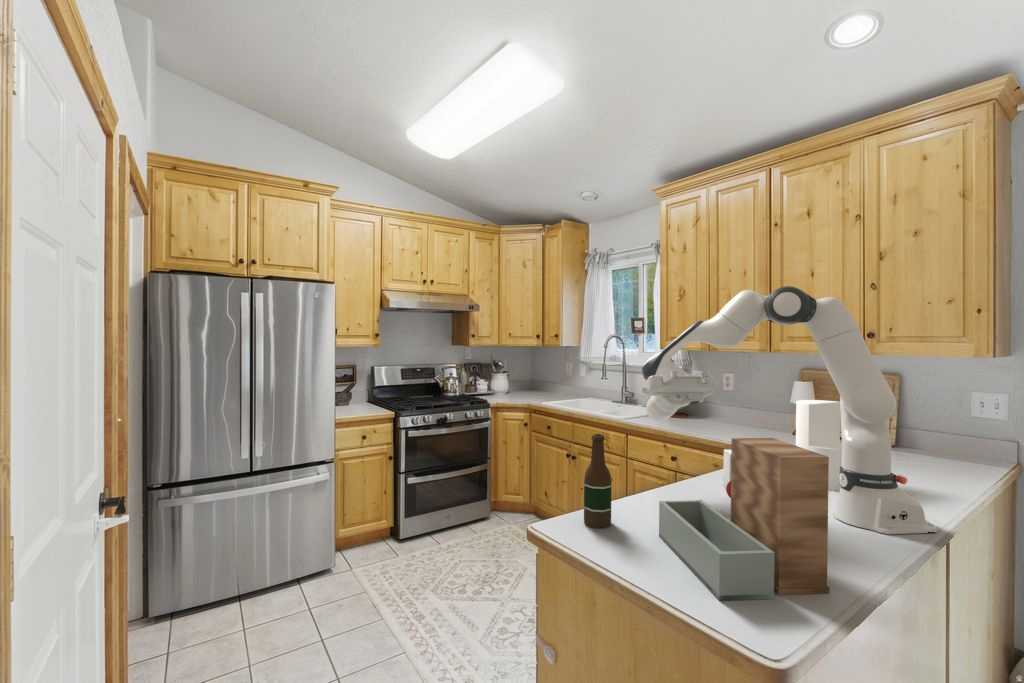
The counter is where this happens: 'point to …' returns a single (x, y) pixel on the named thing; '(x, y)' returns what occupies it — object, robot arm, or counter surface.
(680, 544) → the bin
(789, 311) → the robot arm
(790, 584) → the stand
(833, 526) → the counter surface
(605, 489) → the beer bottle
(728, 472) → the supplement box
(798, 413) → the white rectangular block
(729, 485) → the red round fruit
